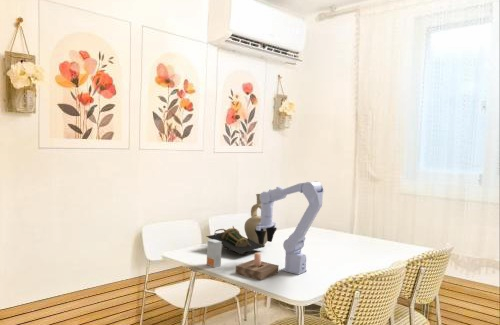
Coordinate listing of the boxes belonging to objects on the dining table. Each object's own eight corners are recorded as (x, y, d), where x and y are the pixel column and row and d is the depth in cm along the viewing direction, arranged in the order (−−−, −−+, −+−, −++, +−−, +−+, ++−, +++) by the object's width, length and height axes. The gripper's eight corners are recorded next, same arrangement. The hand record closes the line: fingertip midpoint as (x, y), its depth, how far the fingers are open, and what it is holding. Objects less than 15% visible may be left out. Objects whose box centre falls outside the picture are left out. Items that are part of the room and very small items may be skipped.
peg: (261, 273, 181) (262, 253, 181) (257, 274, 179) (258, 254, 179) (256, 271, 183) (257, 252, 183) (252, 273, 181) (253, 253, 181)
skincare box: (206, 264, 191) (207, 240, 190) (213, 263, 194) (214, 239, 193) (214, 267, 186) (215, 242, 186) (221, 266, 189) (222, 241, 189)
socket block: (278, 272, 183) (278, 265, 183) (261, 280, 171) (261, 272, 171) (253, 266, 191) (253, 259, 191) (235, 273, 180) (236, 265, 179)
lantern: (235, 266, 203) (195, 241, 220) (260, 261, 221) (221, 238, 238) (243, 242, 201) (202, 218, 218) (267, 239, 220) (228, 217, 237)
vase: (277, 246, 234) (279, 195, 233) (254, 249, 224) (256, 196, 223) (260, 240, 247) (262, 192, 246) (238, 242, 238) (240, 193, 237)
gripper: (267, 213, 204) (266, 239, 205) (251, 216, 192) (250, 243, 193) (279, 214, 200) (278, 241, 201) (263, 218, 188) (262, 246, 189)
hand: (265, 242), depth 196 cm, fingers open, 7 cm apart
